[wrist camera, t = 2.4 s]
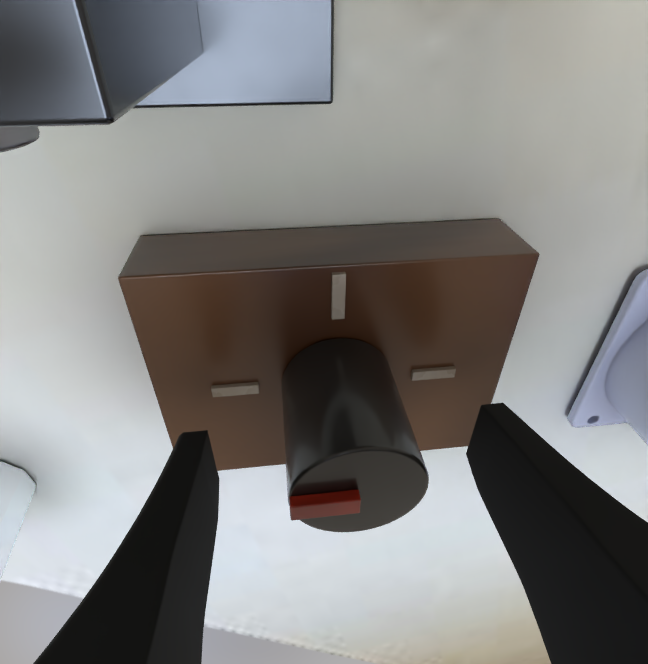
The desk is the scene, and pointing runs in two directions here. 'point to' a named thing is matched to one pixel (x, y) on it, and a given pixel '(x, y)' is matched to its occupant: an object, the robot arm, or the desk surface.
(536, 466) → the robot arm
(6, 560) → the milkshake
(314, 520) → the dial
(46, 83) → the bracket
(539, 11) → the desk surface
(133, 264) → the console
